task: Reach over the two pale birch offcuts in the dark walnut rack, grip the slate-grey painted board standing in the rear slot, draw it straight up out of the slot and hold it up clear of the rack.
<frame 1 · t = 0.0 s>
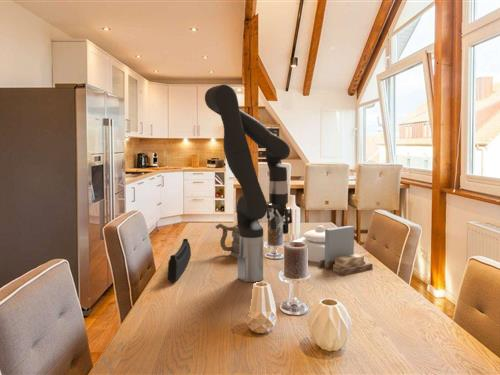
hand: (279, 231, 171), 17 cm above the table, tool pointing down, fingers open, 8 cm apart
butter dish: (318, 260, 192), on the table
tankard: (236, 255, 200), on the table
offcut upper: (349, 263, 173), point 4 cm above the table, touching offcut lower
grey board: (339, 265, 178), point 1 cm above the table, touching walnut rack
walnut rack: (344, 270, 175), on the table
black curved panel: (180, 272, 175), on the table
offcut lower: (349, 268, 173), point 1 cm above the table, touching offcut upper, walnut rack
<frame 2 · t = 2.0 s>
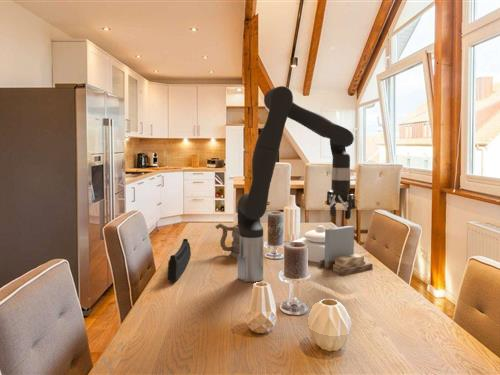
hand: (340, 217, 176), 22 cm above the table, tool pointing down, fingers open, 8 cm apart
nothing on the table moved.
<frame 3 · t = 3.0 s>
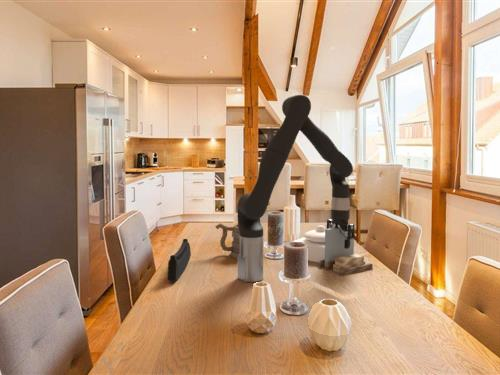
hand: (339, 246, 177), 10 cm above the table, tool pointing down, fingers open, 8 cm apart
nothing on the table moved.
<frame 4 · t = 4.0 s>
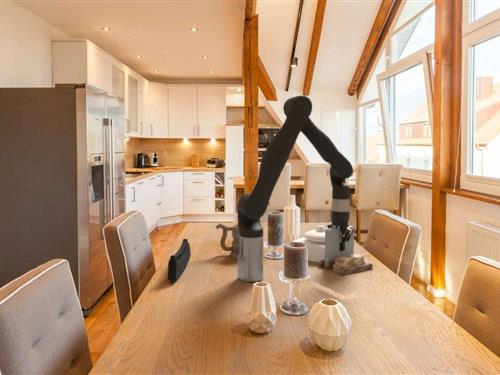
hand: (339, 249, 177), 8 cm above the table, tool pointing down, fingers closed on grey board, 2 cm apart
grey board: (339, 265, 178), point 1 cm above the table, touching gripper, walnut rack
everything else where it was.
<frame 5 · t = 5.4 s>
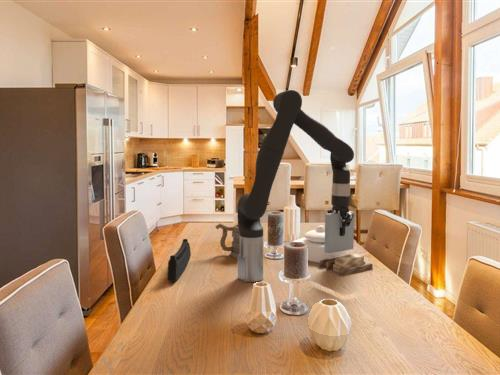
hand: (339, 235, 177), 14 cm above the table, tool pointing down, fingers closed on grey board, 2 cm apart
grey board: (339, 250, 177), point 8 cm above the table, touching gripper
everything else where it was.
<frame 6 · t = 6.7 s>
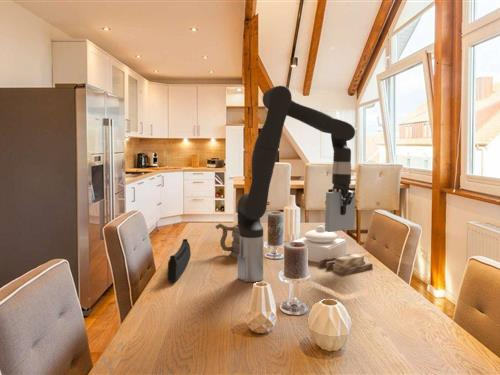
hand: (340, 214, 176), 23 cm above the table, tool pointing down, fingers closed on grey board, 2 cm apart
grey board: (339, 229, 176), point 17 cm above the table, touching gripper
everything else where it was.
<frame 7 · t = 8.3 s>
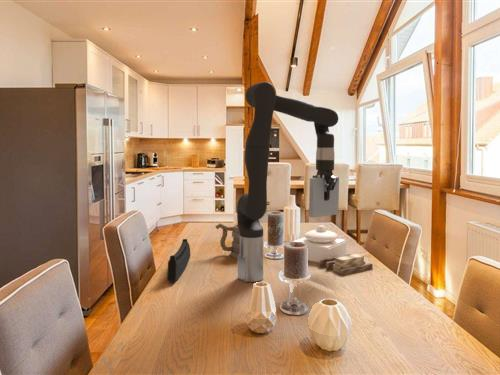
hand: (324, 199, 178), 29 cm above the table, tool pointing down, fingers closed on grey board, 2 cm apart
grey board: (323, 215, 178), point 22 cm above the table, touching gripper
everything else where it was.
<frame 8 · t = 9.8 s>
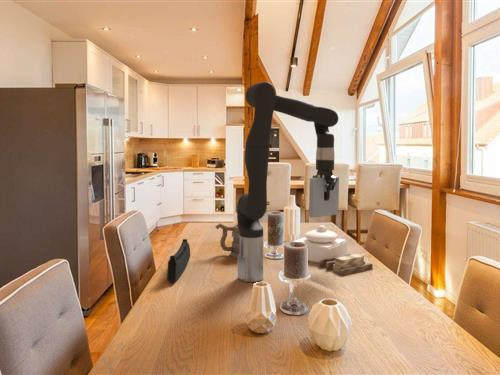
hand: (324, 199, 178), 29 cm above the table, tool pointing down, fingers closed on grey board, 2 cm apart
grey board: (323, 215, 178), point 22 cm above the table, touching gripper
everything else where it was.
at the end: the gripper is holding grey board; grey board point 22.3 cm above the table; offcut upper moved 0.0 cm from its start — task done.
